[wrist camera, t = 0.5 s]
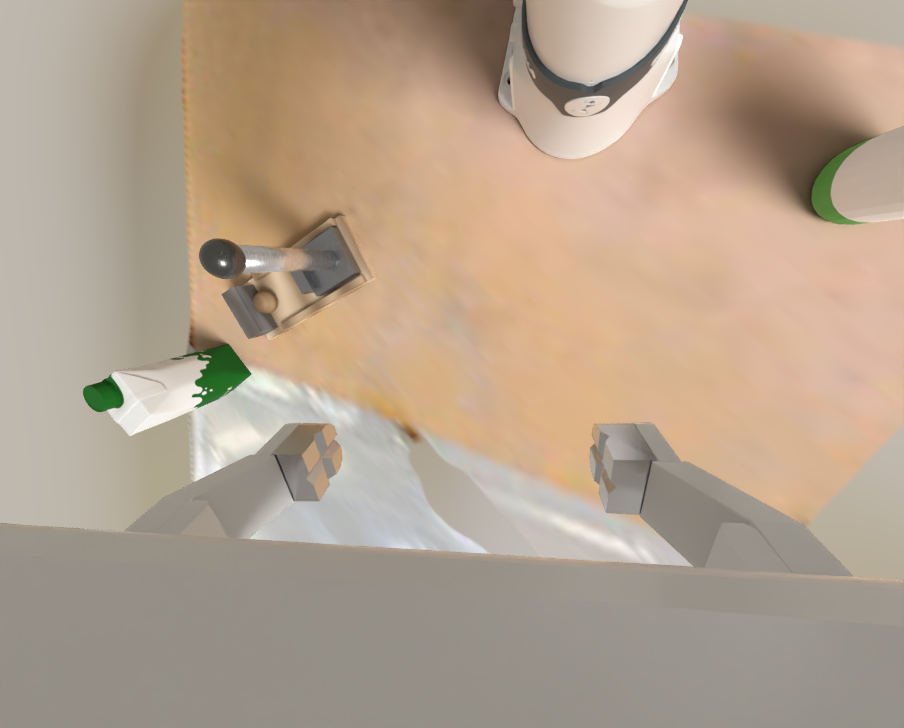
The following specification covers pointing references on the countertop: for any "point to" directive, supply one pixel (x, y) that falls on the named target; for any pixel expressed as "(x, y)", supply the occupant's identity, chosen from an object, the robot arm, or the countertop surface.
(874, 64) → the countertop surface
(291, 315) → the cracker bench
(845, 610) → the robot arm
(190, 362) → the milk carton
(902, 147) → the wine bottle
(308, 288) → the ball-top joystick lever
